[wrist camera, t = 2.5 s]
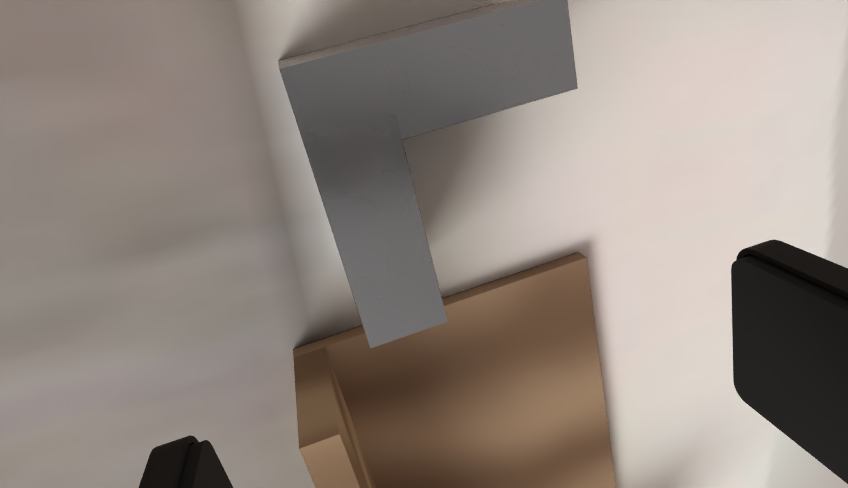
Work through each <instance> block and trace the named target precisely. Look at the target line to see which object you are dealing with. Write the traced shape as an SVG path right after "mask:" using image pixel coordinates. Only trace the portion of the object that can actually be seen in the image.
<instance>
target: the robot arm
mask: <svg viewBox="0 0 848 488" xmlns="http://www.w3.org/2000/svg"><path fill="white" fill-rule="evenodd" d="M731 280H732V328H733V377H734V386H735V389H736V391H737V393H738V394H739V396H740V397H741V399H742V400H743V401H744V402H745V403H747V404H748V405H749V406H750V407H752V408H753V409H754V410H755V411H757V412H758V413H759V414H760V415H762V416H763V417H764V418H766V419H767V420H768V421H769V422H771V423H772V424H773V425H774V426H776V427H777V428H778V429H779V430H781V431H782V432H783V433H784V434H786V435H787V436H788V437H789V438H791V439H792V440H793V441H795V442H796V443H797V444H798V445H799V446H801V447H802V448H803V449H805V450H806V451H807V452H808V453H810V454H811V455H812V456H813V457H815V458H816V459H817V460H818V461H820V462H821V463H822V464H823V465H825V466H826V467H827V468H828V469H830V470H831V471H832V472H833V473H835V474H836V475H837V476H838V477H840V478H841V479H842V480H843V481H845V482H846V483H847V484H848V268H845V267H843V266H840V265H838V264H836V263H833V262H831V261H828V260H826V259H823V258H821V257H818V256H816V255H813V254H811V253H809V252H806V251H804V250H801V249H799V248H796V247H794V246H791V245H789V244H787V243H784V242H782V241H778V240H769V241H766V242H763V243H760V244H757V245H754V246H751V247H748V248H746V249H743V250H742V251H740V252H739V254H738V256H737V260H736V261H735V262H733V264H732V268H731ZM139 488H233V486H232V484H231V482H230V480H229V478H228V476H227V474H226V472H225V470H224V468H223V466H222V464H221V462H220V460H219V458H218V456H217V454H216V452H215V450H214V448H213V446H212V445H211V443H210V442H209V441H207V440H205V441H202V442H198V440H197V439H196V438H195V437H194V436H187V437H184V438H181V439H178V440H175V441H172V442H169V443H166V444H164V445H161V446H158V447H155V448H154V449H153V450H152V452H151V453H150V456H149V459H148V462H147V465H146V468H145V471H144V474H143V477H142V479H141V482H140V485H139Z"/></svg>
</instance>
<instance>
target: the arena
mask: <svg viewBox="0 0 848 488" xmlns="http://www.w3.org/2000/svg"><path fill="white" fill-rule="evenodd" d="M442 301H443V305H444V309H445V313H446V317H447V321H448V322H446V323H443V324H440V325H437V326H434V327H431V328H428V329H425V330H422V331H420V332H417V333H414V334H411V335H408V336H405V337H402V338H399V339H396V340H393V341H391V342H388V343H385V344H382V345H379V346H376V347H373V348H370V346H369V343H368V340H367V337H366V334H365V331H364V328H363V326H360V327H357V328H354V329H351V330H348V331H345V332H342V333H339V334H336V335H333V336H330V337H328V338H325V339H322V340H319V341H316V342H313V343H310V344H307V345H304V346H301V347H298V348H295V349H293V355H294V371H295V388H296V404H297V420H298V437H299V449H300V452H301V454H302V457H303V459H304V461H305V464H306V466H307V468H308V471H309V473H310V475H311V478H312V480H313V482H314V485H315V487H316V488H616V486H615V478H614V470H613V462H612V454H611V446H610V438H609V431H608V423H607V415H606V407H605V399H604V391H603V383H602V376H601V368H600V360H599V352H598V344H597V336H596V328H595V320H594V313H593V305H592V297H591V289H590V281H589V273H588V265H587V258H586V257H585V256H583V255H582V254H581V253H576V254H573V255H570V256H567V257H564V258H561V259H558V260H555V261H552V262H549V263H546V264H543V265H540V266H537V267H534V268H531V269H528V270H525V271H522V272H520V273H517V274H514V275H511V276H508V277H505V278H502V279H499V280H496V281H493V282H490V283H487V284H484V285H481V286H478V287H475V288H472V289H469V290H466V291H463V292H460V293H457V294H455V295H452V296H449V297H446V298H443V299H442Z"/></svg>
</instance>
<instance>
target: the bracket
mask: <svg viewBox="0 0 848 488" xmlns="http://www.w3.org/2000/svg"><path fill="white" fill-rule="evenodd" d="M278 63H279V69H280V72H281V75H282V79H283V82H284V85H285V88H286V91H287V94H288V97H289V100H290V103H291V106H292V109H293V112H294V115H295V118H296V122H297V125H298V128H299V131H300V134H301V137H302V140H303V143H304V146H305V149H306V152H307V155H308V158H309V162H310V165H311V168H312V171H313V174H314V177H315V180H316V183H317V186H318V189H319V192H320V195H321V198H322V201H323V205H324V208H325V211H326V214H327V217H328V220H329V223H330V226H331V229H332V232H333V235H334V238H335V241H336V245H337V248H338V251H339V254H340V257H341V260H342V263H343V266H344V269H345V272H346V275H347V278H348V281H349V285H350V288H351V291H352V294H353V297H354V300H355V303H356V306H357V309H358V312H359V315H360V318H361V321H362V324H363V328H364V331H365V334H366V337H367V340H368V343H369V346H370V348H373V347H376V346H379V345H382V344H385V343H388V342H391V341H393V340H396V339H399V338H402V337H405V336H408V335H411V334H414V333H417V332H420V331H422V330H425V329H428V328H431V327H434V326H437V325H440V324H443V323H446V322H448V321H447V317H446V313H445V309H444V305H443V301H442V297H441V293H440V289H439V285H438V281H437V277H436V273H435V269H434V266H433V262H432V258H431V254H430V250H429V246H428V242H427V238H426V234H425V230H424V226H423V222H422V218H421V214H420V210H419V206H418V202H417V198H416V194H415V190H414V186H413V182H412V178H411V174H410V170H409V166H408V162H407V158H406V154H405V150H404V146H403V143H402V139H406V138H409V137H412V136H416V135H419V134H423V133H426V132H430V131H433V130H436V129H440V128H443V127H447V126H450V125H454V124H457V123H460V122H464V121H467V120H471V119H474V118H478V117H481V116H484V115H488V114H491V113H495V112H498V111H502V110H505V109H508V108H512V107H515V106H519V105H522V104H526V103H529V102H532V101H536V100H539V99H543V98H546V97H550V96H553V95H557V94H560V93H563V92H567V91H570V90H574V89H577V88H578V87H577V79H576V70H575V62H574V53H573V45H572V36H571V28H570V19H569V11H568V2H567V0H518V1H511V2H505V3H498V4H493V5H489V6H485V7H481V8H478V9H474V10H470V11H466V12H462V13H458V14H455V15H451V16H447V17H443V18H439V19H436V20H432V21H428V22H424V23H420V24H416V25H413V26H409V27H405V28H401V29H397V30H393V31H390V32H386V33H382V34H378V35H374V36H371V37H367V38H363V39H359V40H355V41H351V42H348V43H344V44H340V45H336V46H332V47H328V48H325V49H321V50H317V51H313V52H309V53H306V54H302V55H298V56H294V57H290V58H286V59H283V60H279V61H278Z"/></svg>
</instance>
